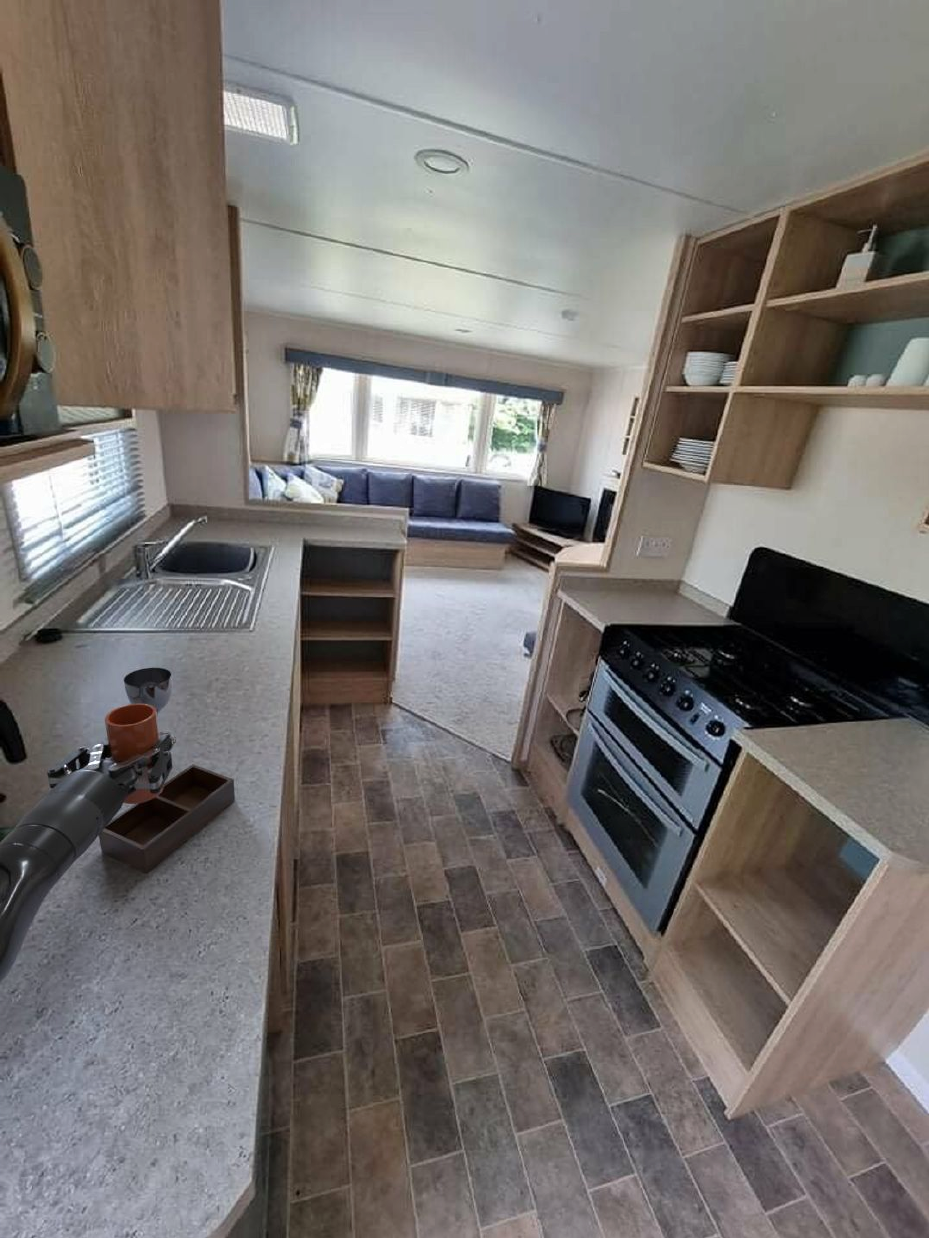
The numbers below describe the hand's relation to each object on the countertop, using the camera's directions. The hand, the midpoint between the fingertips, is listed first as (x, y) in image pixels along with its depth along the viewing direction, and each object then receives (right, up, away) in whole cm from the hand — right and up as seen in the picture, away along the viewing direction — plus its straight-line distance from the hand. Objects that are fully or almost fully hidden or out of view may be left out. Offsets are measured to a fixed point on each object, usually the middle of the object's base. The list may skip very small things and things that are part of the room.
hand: (144, 738), depth 76 cm
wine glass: (-16, -8, +29) cm, 34 cm away
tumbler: (-1, -8, 0) cm, 8 cm away
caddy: (-1, -17, +10) cm, 19 cm away
